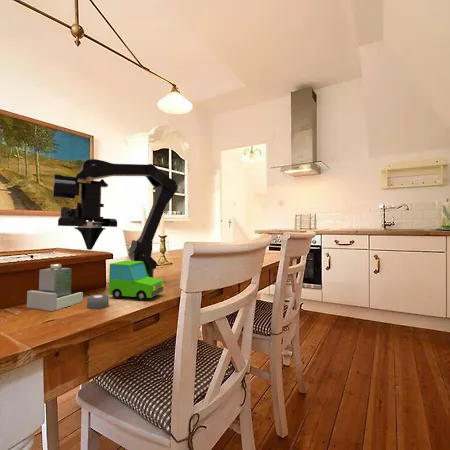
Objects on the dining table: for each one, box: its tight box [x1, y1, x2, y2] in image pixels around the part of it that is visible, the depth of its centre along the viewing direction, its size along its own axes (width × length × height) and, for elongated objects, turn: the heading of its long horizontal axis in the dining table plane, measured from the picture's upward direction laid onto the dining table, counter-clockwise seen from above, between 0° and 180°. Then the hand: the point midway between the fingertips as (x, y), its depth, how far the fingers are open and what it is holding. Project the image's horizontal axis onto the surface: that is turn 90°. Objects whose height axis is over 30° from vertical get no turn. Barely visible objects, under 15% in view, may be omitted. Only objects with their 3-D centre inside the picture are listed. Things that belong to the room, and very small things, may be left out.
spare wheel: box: [86, 293, 110, 310], centre depth 70 cm, size 5×5×3 cm
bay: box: [26, 289, 84, 312], centre depth 71 cm, size 9×8×4 cm
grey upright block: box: [38, 263, 72, 298], centre depth 71 cm, size 5×5×10 cm
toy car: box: [108, 260, 164, 302], centre depth 81 cm, size 10×13×10 cm
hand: (89, 249), depth 86 cm, fingers closed
